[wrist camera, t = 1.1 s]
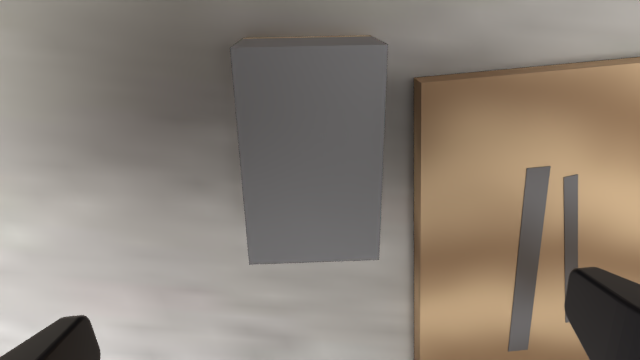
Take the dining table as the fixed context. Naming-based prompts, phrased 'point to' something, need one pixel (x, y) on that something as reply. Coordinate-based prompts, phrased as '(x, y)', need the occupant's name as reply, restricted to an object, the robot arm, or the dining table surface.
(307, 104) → the block
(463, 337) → the oak board
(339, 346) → the dining table surface
